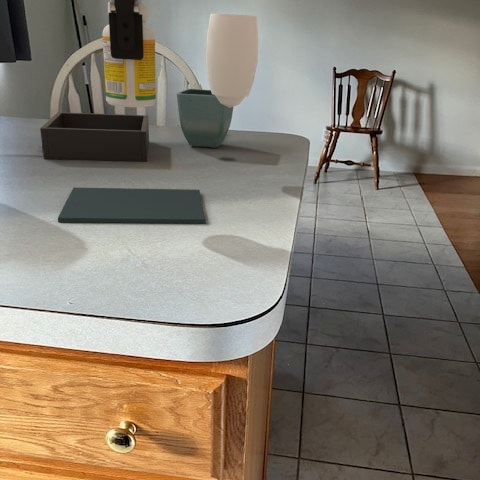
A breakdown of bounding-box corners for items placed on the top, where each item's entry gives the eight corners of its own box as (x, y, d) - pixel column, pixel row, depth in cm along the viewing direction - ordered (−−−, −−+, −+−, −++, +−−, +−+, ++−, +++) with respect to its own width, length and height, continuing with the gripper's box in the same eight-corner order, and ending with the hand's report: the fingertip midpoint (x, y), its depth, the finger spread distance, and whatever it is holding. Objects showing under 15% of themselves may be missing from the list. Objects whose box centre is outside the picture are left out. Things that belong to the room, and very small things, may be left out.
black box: (43, 158, 83) (40, 128, 81) (60, 138, 96) (57, 112, 94) (147, 161, 85) (146, 131, 83) (149, 141, 98) (148, 115, 96)
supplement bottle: (105, 107, 57) (98, 0, 52) (107, 100, 61) (101, 1, 56) (157, 108, 57) (155, 4, 53) (155, 101, 62) (153, 5, 57)
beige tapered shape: (214, 177, 79) (219, 13, 69) (196, 165, 84) (198, 12, 74) (258, 174, 82) (269, 16, 72) (238, 163, 87) (245, 15, 77)
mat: (58, 222, 58) (57, 217, 58) (73, 191, 69) (73, 187, 69) (205, 223, 61) (205, 219, 60) (199, 193, 71) (199, 189, 71)
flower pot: (187, 138, 103) (188, 87, 98) (233, 142, 102) (236, 91, 97) (175, 147, 95) (175, 92, 91) (225, 152, 94) (227, 96, 90)
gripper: (87, -148, 55) (100, 50, 64) (60, -208, 40) (82, 61, 49) (162, -140, 56) (164, 54, 65) (162, -196, 41) (165, 65, 50)
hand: (129, 55), depth 57 cm, fingers closed on supplement bottle, 5 cm apart
